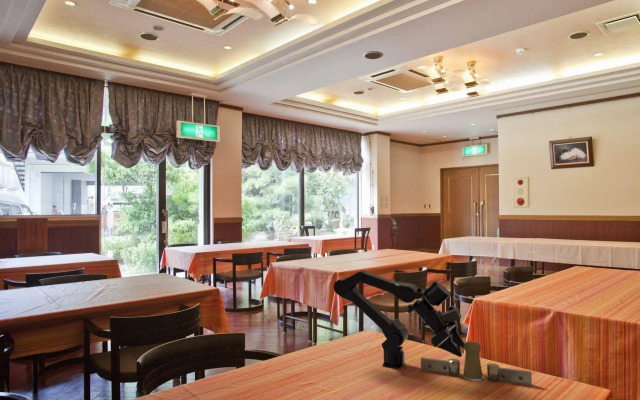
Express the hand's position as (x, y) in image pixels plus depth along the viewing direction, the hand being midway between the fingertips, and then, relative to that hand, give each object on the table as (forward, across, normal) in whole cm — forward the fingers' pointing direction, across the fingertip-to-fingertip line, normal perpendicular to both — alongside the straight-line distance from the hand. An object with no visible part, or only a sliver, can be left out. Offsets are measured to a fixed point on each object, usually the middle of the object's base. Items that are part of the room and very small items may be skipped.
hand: (463, 351), depth 137 cm
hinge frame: (+8, 0, +3) cm, 8 cm away
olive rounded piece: (+8, 0, +3) cm, 8 cm away
